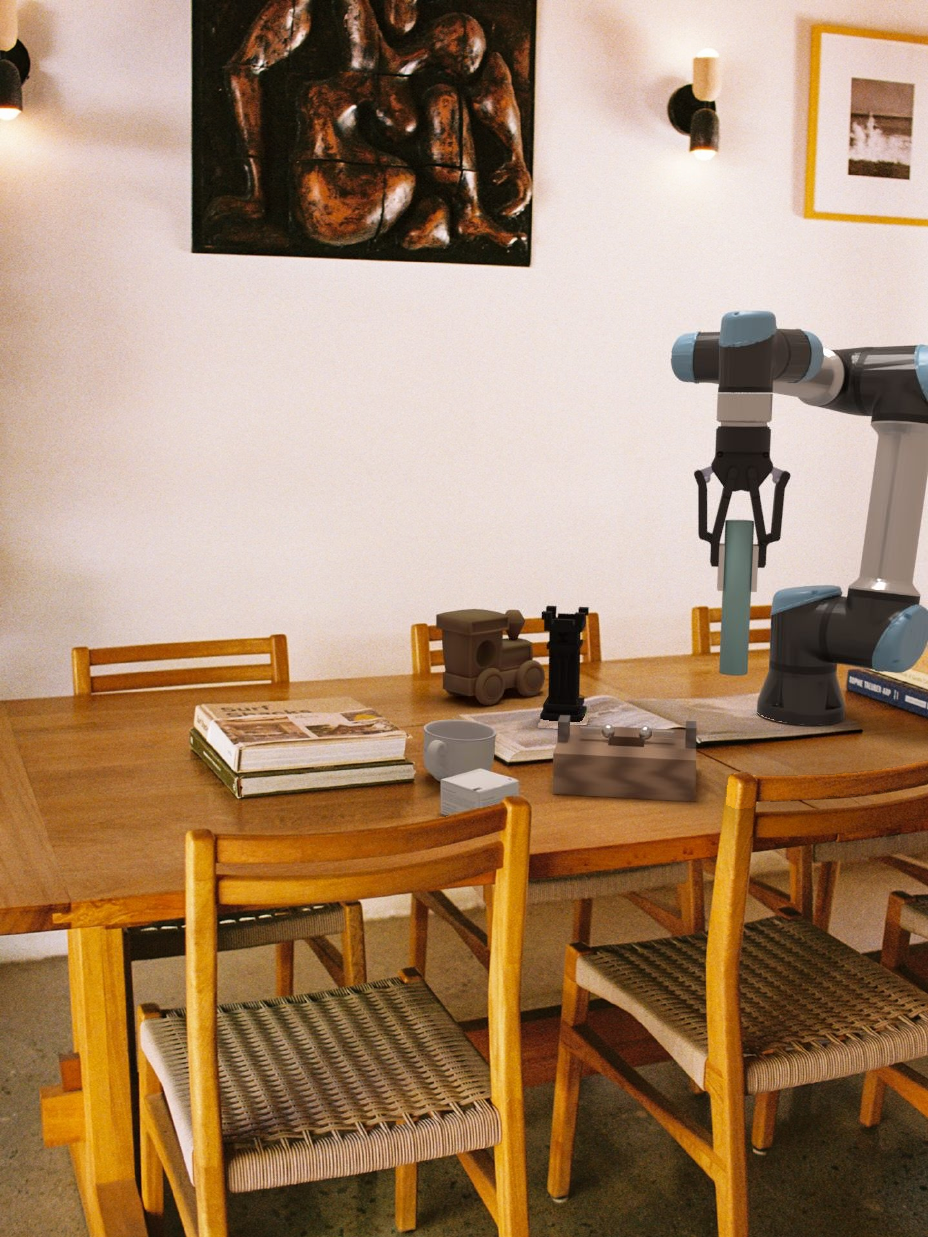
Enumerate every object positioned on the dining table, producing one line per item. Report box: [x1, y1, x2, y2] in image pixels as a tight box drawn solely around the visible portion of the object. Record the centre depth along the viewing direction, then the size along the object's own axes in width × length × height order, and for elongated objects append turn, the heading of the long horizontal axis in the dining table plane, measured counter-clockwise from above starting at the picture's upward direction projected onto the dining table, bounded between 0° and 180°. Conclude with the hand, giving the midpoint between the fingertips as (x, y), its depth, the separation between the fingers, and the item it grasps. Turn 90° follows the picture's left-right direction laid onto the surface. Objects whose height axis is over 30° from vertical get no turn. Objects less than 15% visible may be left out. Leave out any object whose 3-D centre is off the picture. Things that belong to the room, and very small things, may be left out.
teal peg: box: [718, 519, 755, 677], centre depth 179 cm, size 4×4×22 cm
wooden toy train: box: [435, 608, 546, 707], centre depth 235 cm, size 20×11×17 cm, turn 131°
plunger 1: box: [580, 724, 615, 738], centre depth 184 cm, size 5×2×2 cm, turn 80°
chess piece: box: [539, 605, 590, 722], centre depth 215 cm, size 8×8×20 cm
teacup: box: [422, 719, 498, 783], centre depth 184 cm, size 14×11×8 cm
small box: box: [440, 768, 520, 816], centre depth 170 cm, size 8×8×5 cm
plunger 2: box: [638, 725, 674, 740], centre depth 183 cm, size 5×2×2 cm, turn 80°
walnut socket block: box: [552, 715, 698, 803], centre depth 184 cm, size 20×16×9 cm
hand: (736, 589), depth 179 cm, fingers closed on teal peg, 4 cm apart
